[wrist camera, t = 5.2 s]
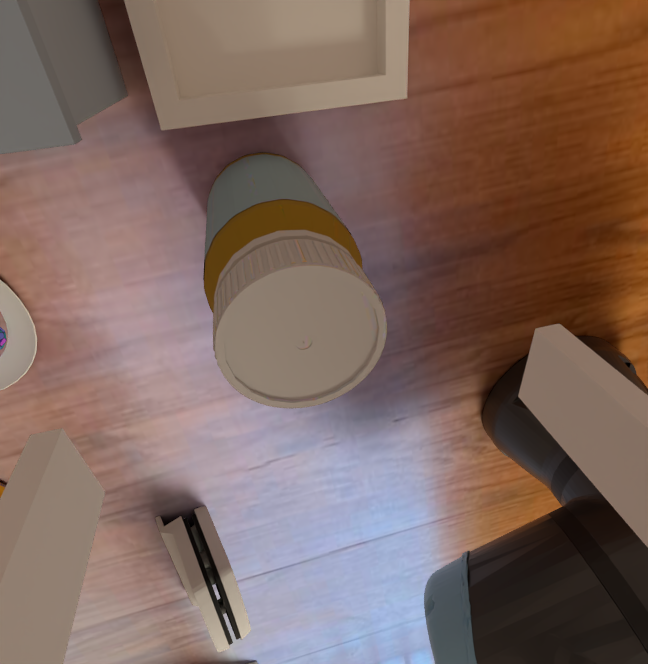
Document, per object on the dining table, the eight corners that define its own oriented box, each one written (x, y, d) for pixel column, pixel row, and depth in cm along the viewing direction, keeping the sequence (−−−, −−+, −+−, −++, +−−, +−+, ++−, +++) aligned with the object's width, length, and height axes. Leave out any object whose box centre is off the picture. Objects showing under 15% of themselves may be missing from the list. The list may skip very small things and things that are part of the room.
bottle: (288, 273, 30) (338, 432, 17) (191, 234, 27) (170, 392, 14) (337, 183, 27) (437, 298, 15) (234, 127, 24) (253, 213, 12)
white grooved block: (153, 515, 41) (183, 611, 34) (200, 492, 43) (237, 578, 36) (188, 592, 51) (216, 680, 44) (225, 571, 53) (258, 651, 46)
